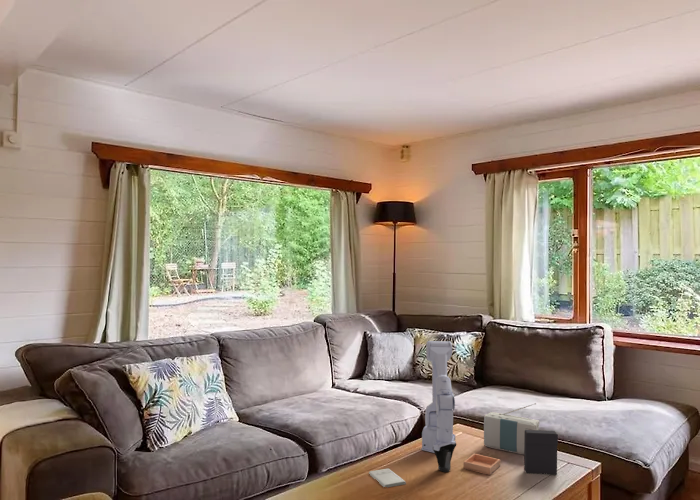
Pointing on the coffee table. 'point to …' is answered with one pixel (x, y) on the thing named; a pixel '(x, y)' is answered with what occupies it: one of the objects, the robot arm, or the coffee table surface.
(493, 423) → the stereo radio cassette player
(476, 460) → the dish
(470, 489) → the coffee table surface
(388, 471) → the external hard drive
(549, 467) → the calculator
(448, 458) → the cell
